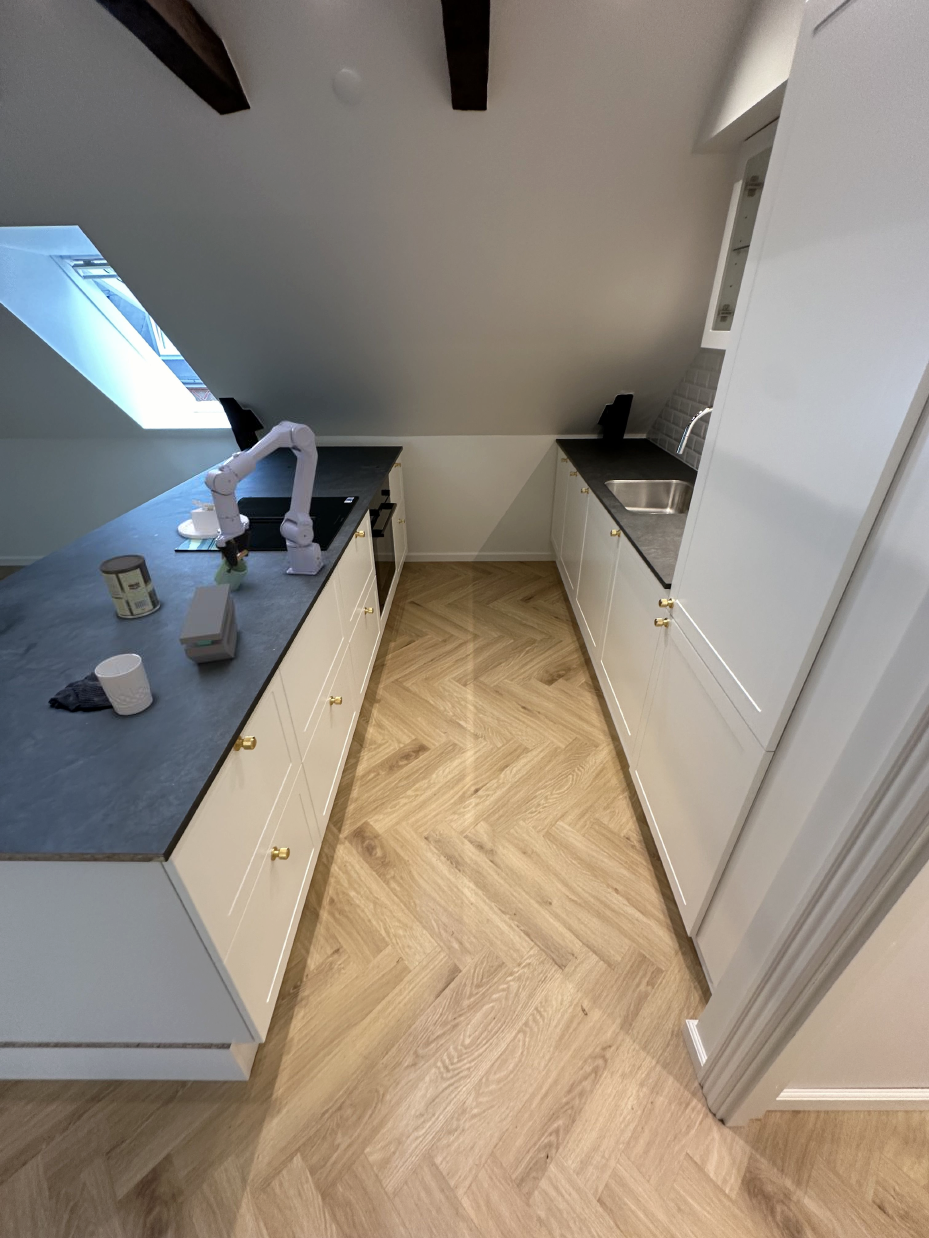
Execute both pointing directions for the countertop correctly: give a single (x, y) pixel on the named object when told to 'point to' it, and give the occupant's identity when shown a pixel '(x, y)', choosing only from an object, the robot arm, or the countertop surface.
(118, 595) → the coffee can
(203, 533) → the dish
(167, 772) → the countertop surface
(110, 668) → the white cup
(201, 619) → the grey box
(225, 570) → the bucket
